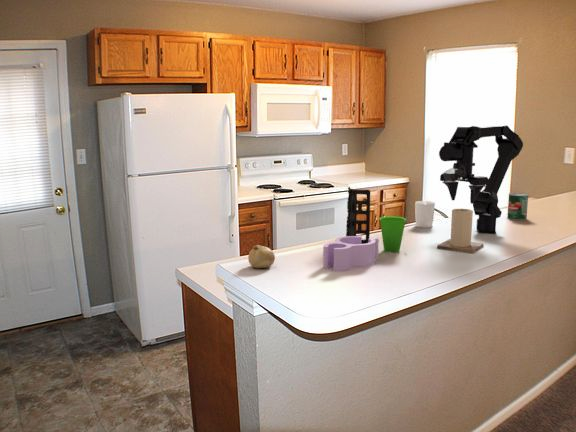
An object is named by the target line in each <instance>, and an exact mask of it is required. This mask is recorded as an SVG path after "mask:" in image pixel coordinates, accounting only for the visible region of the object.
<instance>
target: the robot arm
mask: <svg viewBox="0 0 576 432" xmlns="http://www.w3.org/2000/svg"><path fill="white" fill-rule="evenodd" d="M489 137H495V142H496V145H498V146H497V155H498V157H497V160H496V161H495V164H494V166H493V168H492V170H491V173H490V175H489V177H488V176H480V175H479V176H478V175H476V176H475V173H473V167H475V166H476V163H475V162H474V149H476V148H478V147H479V145H478V144H476V143H475V142H476V141H478V140H480V139H482V138H489ZM523 146H524V142H523V140H522V138H521V137H520V136H519V134H517V132H515V131H513V130H512V129H511V128H510V127H509V126H508V125H506V124H496V125H488V126H475V125H459V126H457V127H456V129H455V132H454V133H453V135H452V137H451V138H450V140H449V142H446V141H445V142H443V146H441V147H440V150H439V152H438V157H439V159H440V160H441V161H443V162H454V163H453V164H452V167H451V168H449V169H446V170H445V171H443V172H442V173H441V175H439V177H440V179H439V181H441V182H442V184H444V185H445V186H446V187H447V189H448V192H449V195H450V199H451V201H455V199H456V195H457V190H458V186H459V182H466V183H469V185H468V187H469V190H470V197H469V199H470V200H469V201H470V204H472V207H473V213H474V216H478V218H477V219H476V231H477V232H478V233H482V234H484V233H487V234H496V233H497V231H496V228H497V227H496V226H497V219H499V218H501V216H502V212H503V211H502V210H501V209H500V208H499V206H498V204H499V198H498V197H499V196H498V192H499V190H500V188H501V186H502V183H503V181H504V179H505V176H506V174H507V171H508V170H509V167H510V165H511V162H512V161H513V160H514V159H516V158H517V157H518V156H519V155H520V154H521V151H522V149H523V148H524V147H523ZM483 188H484V189H483Z"/></svg>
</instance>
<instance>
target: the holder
mask: <svg viewBox="0 0 576 432" xmlns="http://www.w3.org/2000/svg"><path fill="white" fill-rule="evenodd" d="M347 190H348V191H347V193H348V197H347V203H346V204H347V205H346V207H347V208H346V209H347V210H346V212H347V217H346V229H345V230H346V231H345V232H346V233H345V236H357V235H365V239H362V243H361V244H366V243H368V239H369V238H370V231H371V230H370V228H371V226H370V225H371V190H370V189H354V188H351V187H350V186H349V187H347ZM358 195H365V196H366V199H365V200H358ZM363 205H366V209H365V210H363ZM357 215H365V216H366V217H365V220H360V219H357ZM362 225H365V229H362Z"/></svg>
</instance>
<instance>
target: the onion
mask: <svg viewBox="0 0 576 432" xmlns="http://www.w3.org/2000/svg"><path fill="white" fill-rule="evenodd" d="M247 259H248V263H249V265H250V266H251V267H253V268H255V269H260V268H261V269H262V268H263V269H270V268H271V266H272V265H273V264H274V263H275V260H276V256H275V253H274V251H272V249H271V248H270V247H267V246H263V245H260V244H256V245H254V246H253V247H252V249H251V250H250V251H249V253H248V258H247Z"/></svg>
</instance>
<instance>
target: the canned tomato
mask: <svg viewBox="0 0 576 432" xmlns="http://www.w3.org/2000/svg"><path fill="white" fill-rule="evenodd" d="M528 203H529V194H528V193H524V192H510V193H508V202H507V204H508V207H507V219H508V220H512V221H526V220H528V219H527V218H528V215H527V214H528Z"/></svg>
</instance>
